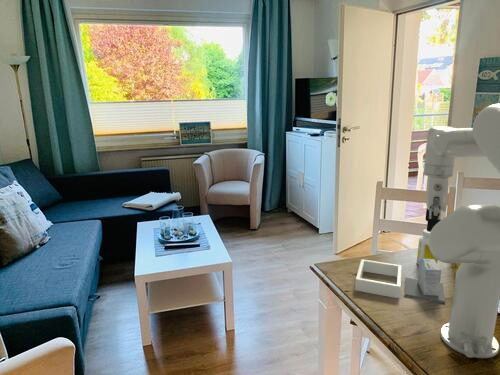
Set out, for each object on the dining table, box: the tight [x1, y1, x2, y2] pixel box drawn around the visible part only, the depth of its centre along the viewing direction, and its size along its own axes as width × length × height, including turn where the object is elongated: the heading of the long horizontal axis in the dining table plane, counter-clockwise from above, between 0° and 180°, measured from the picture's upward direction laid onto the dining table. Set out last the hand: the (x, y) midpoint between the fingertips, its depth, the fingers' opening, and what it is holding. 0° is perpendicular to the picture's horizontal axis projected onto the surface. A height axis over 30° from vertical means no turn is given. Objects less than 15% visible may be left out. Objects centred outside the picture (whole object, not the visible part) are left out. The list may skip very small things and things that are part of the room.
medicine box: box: [417, 259, 442, 296], centre depth 113 cm, size 8×4×9 cm, turn 168°
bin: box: [354, 259, 402, 299], centre depth 119 cm, size 15×13×4 cm
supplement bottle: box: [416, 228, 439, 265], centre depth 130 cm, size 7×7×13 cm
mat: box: [404, 277, 446, 304], centre depth 114 cm, size 11×11×1 cm
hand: (431, 226), depth 109 cm, fingers open, 9 cm apart
